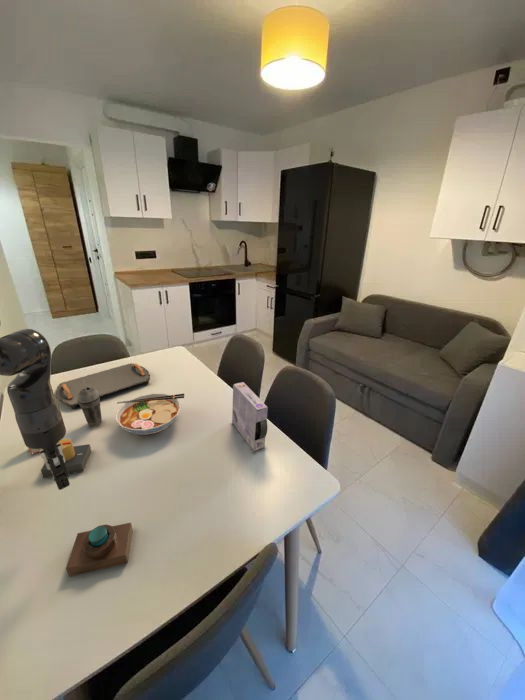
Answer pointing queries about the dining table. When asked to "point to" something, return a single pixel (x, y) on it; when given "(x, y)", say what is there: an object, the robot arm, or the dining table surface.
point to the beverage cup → (90, 405)
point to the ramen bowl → (148, 413)
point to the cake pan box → (249, 416)
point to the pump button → (98, 536)
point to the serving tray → (103, 382)
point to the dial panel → (73, 461)
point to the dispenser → (100, 550)
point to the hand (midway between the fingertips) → (59, 475)
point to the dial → (67, 449)
